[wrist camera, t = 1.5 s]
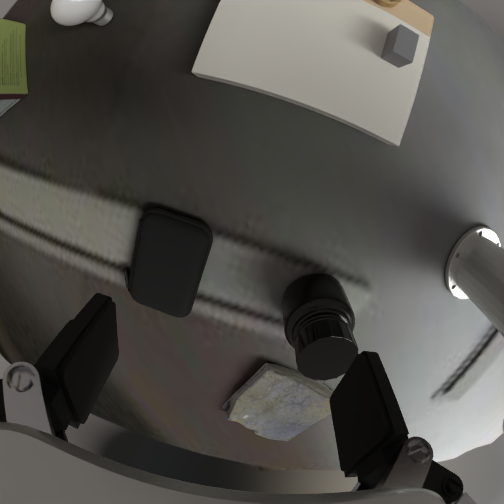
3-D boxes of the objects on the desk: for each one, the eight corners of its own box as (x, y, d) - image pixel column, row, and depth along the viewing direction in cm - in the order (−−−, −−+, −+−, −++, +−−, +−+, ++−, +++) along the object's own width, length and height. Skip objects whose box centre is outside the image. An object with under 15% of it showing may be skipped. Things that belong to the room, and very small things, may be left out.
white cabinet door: (423, 22, 22) (448, 9, 16) (388, 144, 30) (413, 148, 24) (251, -44, 20) (248, -70, 14) (197, 76, 28) (182, 64, 22)
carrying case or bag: (142, 198, 34) (125, 289, 40) (132, 204, 32) (117, 300, 37) (219, 224, 35) (190, 314, 41) (215, 232, 33) (186, 326, 38)
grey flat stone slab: (215, 407, 52) (284, 434, 54) (211, 424, 48) (284, 450, 50) (269, 350, 45) (345, 385, 47) (268, 368, 41) (349, 402, 43)
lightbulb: (135, 13, 24) (94, -18, 14) (100, 46, 26) (50, 28, 15) (113, -6, 22) (72, -35, 12) (81, 25, 24) (33, 7, 14)
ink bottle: (281, 328, 41) (285, 390, 30) (275, 276, 38) (278, 335, 27) (346, 319, 40) (367, 378, 29) (347, 267, 37) (375, 321, 26)
